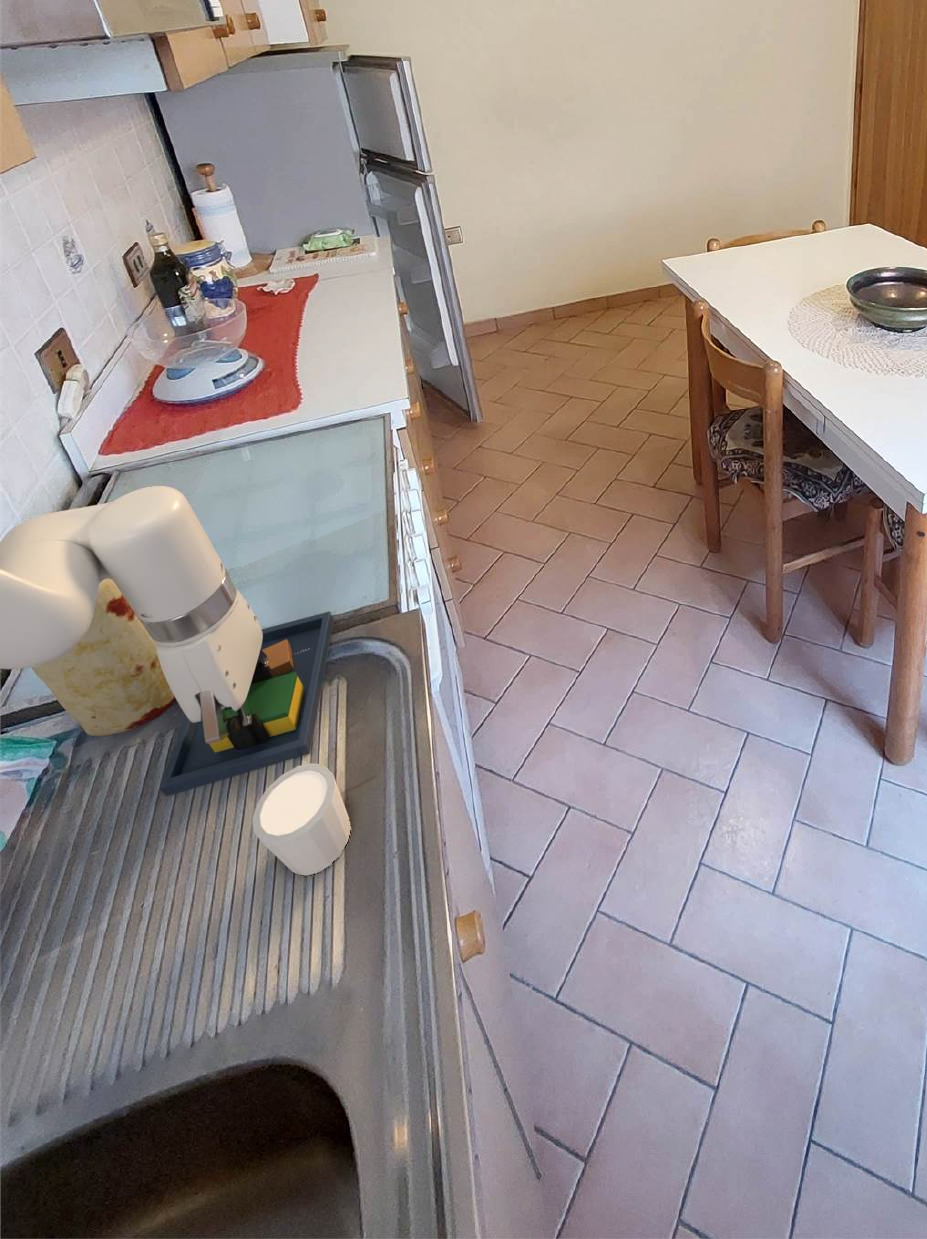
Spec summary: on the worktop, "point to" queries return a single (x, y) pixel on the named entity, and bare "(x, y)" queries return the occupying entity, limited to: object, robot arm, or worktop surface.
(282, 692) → the sponge
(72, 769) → the worktop surface
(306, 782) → the white cylinder
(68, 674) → the food model
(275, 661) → the orange flat block
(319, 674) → the tray
